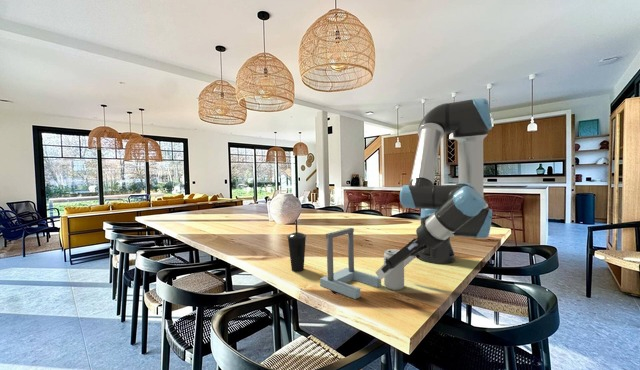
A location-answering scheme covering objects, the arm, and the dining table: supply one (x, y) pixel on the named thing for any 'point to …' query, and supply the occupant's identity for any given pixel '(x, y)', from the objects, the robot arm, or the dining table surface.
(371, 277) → the grey arch frame
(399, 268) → the beverage can
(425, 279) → the dining table surface
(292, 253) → the drinking cup
